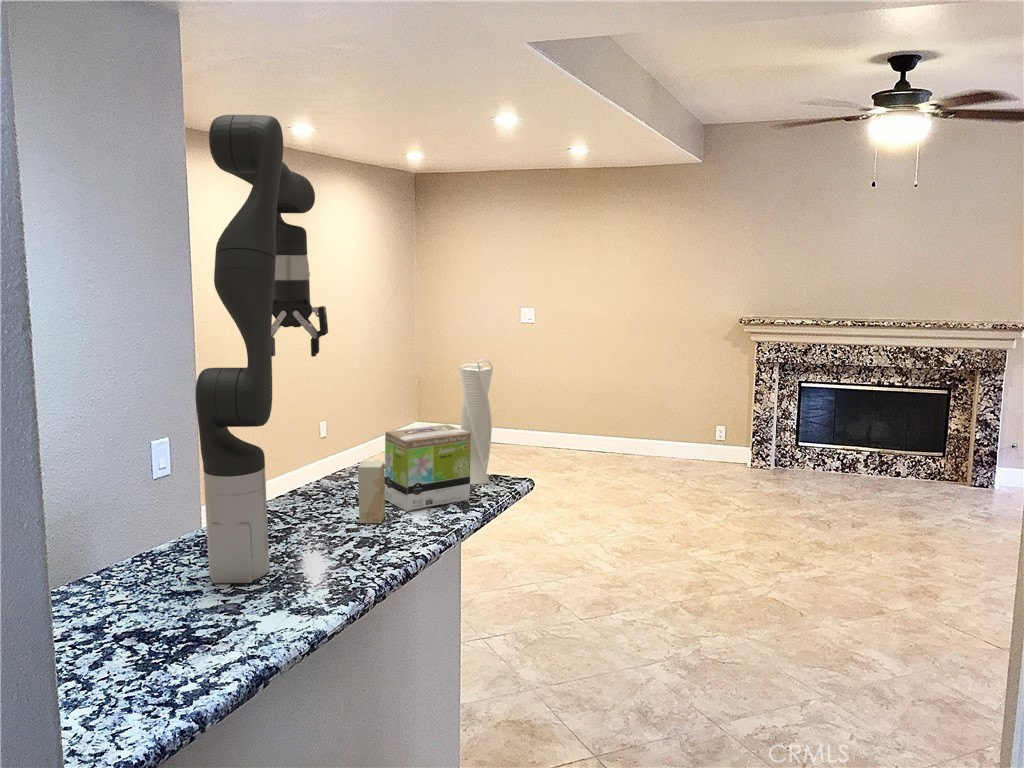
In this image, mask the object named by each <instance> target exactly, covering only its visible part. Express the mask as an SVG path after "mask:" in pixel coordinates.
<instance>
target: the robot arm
mask: <svg viewBox="0 0 1024 768" xmlns="http://www.w3.org/2000/svg"><path fill="white" fill-rule="evenodd" d="M208 143H209V145H208V146H209V151H210V154H211V159H213V162H214V163H215V165H216V166H217V167H218V168H219V169H220V170H222V171H223V172H225V173H226V174H227V173H228V174H231V175H233V176H235V177H237V178H239V179H241V180H242V181H244V182H246V183H248V184H250V185H251V186H252V187H251V190H250V192H249V195H248V197H247V198H246V200H245V202H244V203H243V205H242V206H241V207H240V208H239V210H238V211H237V212H236V214H235V215H234V216H233V218H232V219H231V220H230V221H229V223H227V225H226V227H225V228H224V230H223V231H222V233H221V234H220V236H219V238H218V240H217V243H216V246H215V254H214V255H215V256H214V257H215V258H214V271H213V274H214V275H213V282H214V283H213V284H214V289H215V291H216V293H217V295H218V297H219V300H220V302H221V303H222V305H223V307H224V308H225V309H226V311H227V313H228V314H229V315H230V317H231V318H232V320H233V322H234V323H235V325H236V327H237V329H238V331H239V332H240V334H241V338H242V339H243V341H244V344H245V349H246V357H247V365H246V367H209V368H208V367H207V368H204V369H202V371H201V372H200V373H199V374H198V376H197V380H196V386H195V407H196V417H197V423H198V424H197V425H198V434H199V445H200V455H201V459H202V469H203V483H204V484H203V485H204V501H205V502H204V503H205V504H204V505H205V520H206V521H205V525H206V538H207V539H206V543H207V555H208V560H207V561H208V576H209V578H210V580H211V583H212V584H249V583H253V581H254V580H257V579H259V578H262V577H264V576H265V575H266V574H268V573H269V572H270V549H269V548H270V547H269V529H268V526H269V525H268V508H267V507H268V504H267V485H266V482H267V480H266V459H265V453H264V450H263V449H262V448H261V447H260V446H257V445H256V444H252V443H250V442H247V441H245V440H242V439H240V438H238V437H237V436H236V435H234V434H233V433H232V432H231V431H230V430H229V428H254V427H255V428H256V427H263V426H264V425H265V424H266V423H268V422H269V420H270V417H271V412H272V406H273V358H272V357H275V356H276V338H275V337H274V336H275V334H277V332H278V330H280V329H281V327H283V328H291V327H293V328H300V327H303V328H304V330H305V331H306V332H307V333H308V334H309V335H310V336H311V339H310V356H311V357H317V355H318V354H319V352H320V338H321V337H323V336H326V335H327V334H328V333H329V327H328V316H327V308H326V306H325V305H320V306H312V304H311V293H310V291H311V290H310V289H311V287H310V277H311V274H310V273H311V272H310V264H309V260H308V240H307V239H308V238H307V235H308V234H307V230H306V229H305V228H304V227H302V226H299V225H296V224H291V223H287V222H286V221H285V220H284V219H283V218H282V214H306V213H308V212H309V211H311V210H312V209H313V207H314V205H315V200H316V192H315V190H314V186H313V184H312V183H311V182H310V181H309V179H308V178H307V177H305V176H304V175H302V174H300V173H297V172H295V171H292V170H291V169H290V168H289V167H288V165H286V163H285V162H284V161H283V156H284V136H283V129H282V125H281V123H280V121H279V120H278V119H277V118H276V117H274V116H272V115H266V114H265V115H264V114H223V115H219V116H217V117H215V118H214V119H213V120H212V121H211V124H210V127H209V131H208ZM312 314H314V315H315V317H317V318H318V322H319V330H318V329H317V328H316V327H315V326H314V323H312V321H311V320H310V317H311V315H312ZM273 317H274V321H273Z"/></svg>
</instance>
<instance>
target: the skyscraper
mask: <svg viewBox="0 0 1024 768" xmlns="http://www.w3.org/2000/svg"><path fill="white" fill-rule="evenodd" d="M480 362H487V363H488V364H489V366H490V367H484V364H483V363H480ZM458 369H459V375H460V382H461V386H462V394H463V399H462V405H461V412H460V413H461V414H460V429H461V430H464V431H467V432H469V433H471V453H470V486H471V485H484V484H488V485H489V484H491V482H490V479H489V476H488V474H487V471H488V467H489V460H490V454H491V453H490V451H491V444H492V423H493V422H492V412H491V405H490V401H489V391H490V386H491V381H492V376H493V370H494V368H493V365H492V363H491V361H490V360H488V359H486V358H481V359H479V360H477V362H476V363H465V364H464V363H463V364H461V365H459V367H458Z"/></svg>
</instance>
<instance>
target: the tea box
mask: <svg viewBox="0 0 1024 768" xmlns="http://www.w3.org/2000/svg"><path fill="white" fill-rule="evenodd" d="M384 442H385V443H384V453H385V454H384V473H385V501H387V502H389V503H390V504H393V505H394V506H396V507H398V508H399V509H401V510H403V511H406V512H411V511H415V510H420V509H424V508H429V507H436V506H439V505H440V506H441V505H447V504H453V503H458V502H465V501H466V502H467V501H469V500H470V499H471V498H470V497H471V496H470V494H471V493H470V492H471V485H470V453H471V433H469V432H467V431H464V430H461V428H458V427H455V426H451V425H449V424H441V425H440V424H439V425H431V426H425V427H424V426H423V427H414V428H408V429H399V430H390V431H385V440H384Z"/></svg>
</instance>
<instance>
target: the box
mask: <svg viewBox="0 0 1024 768" xmlns="http://www.w3.org/2000/svg"><path fill="white" fill-rule="evenodd" d="M357 472H358V473H357V475H358V476H357V478H358V479H357V481H358V483H357V486H358V512H359V513H358V516H359V518H358V519H359V524H382V523H383V521H384V519H385V517H386V500H385V460H384V461H383V460H363V461H362V462H361V463H360V464H359V466H358V467H357Z"/></svg>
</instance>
